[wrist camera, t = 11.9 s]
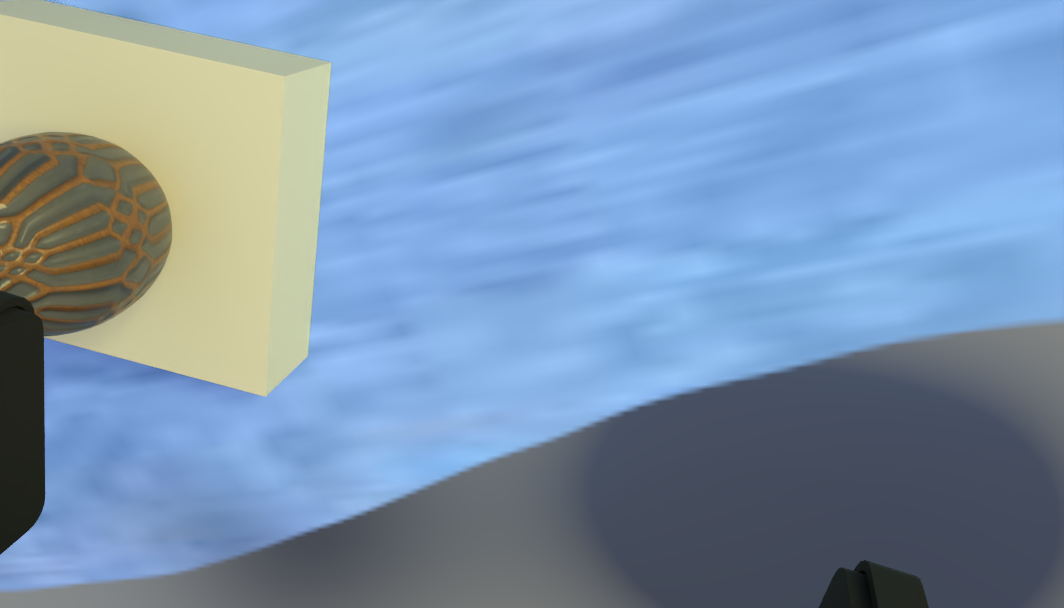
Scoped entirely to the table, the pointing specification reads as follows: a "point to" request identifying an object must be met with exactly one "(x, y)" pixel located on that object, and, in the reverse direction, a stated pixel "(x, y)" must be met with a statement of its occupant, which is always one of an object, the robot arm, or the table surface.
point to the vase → (79, 228)
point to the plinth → (190, 178)
